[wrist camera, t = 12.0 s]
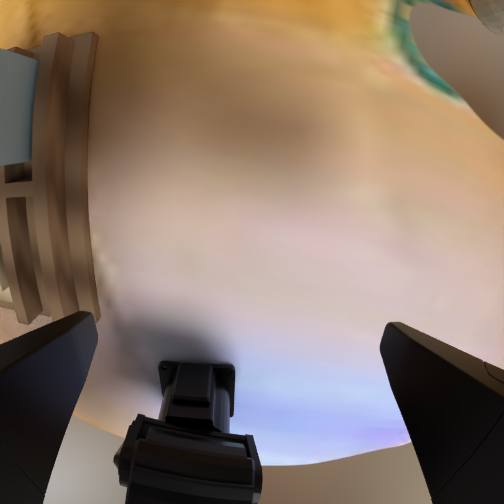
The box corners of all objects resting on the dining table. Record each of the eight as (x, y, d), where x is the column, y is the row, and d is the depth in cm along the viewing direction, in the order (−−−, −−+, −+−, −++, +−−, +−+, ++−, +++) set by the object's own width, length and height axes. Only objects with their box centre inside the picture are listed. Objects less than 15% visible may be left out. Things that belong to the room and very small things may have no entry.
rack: (101, 316, 23) (84, 340, 19) (-11, 298, 22) (-31, 314, 18) (98, 35, 16) (77, 20, 12) (-24, 74, 15) (-48, 71, 11)
